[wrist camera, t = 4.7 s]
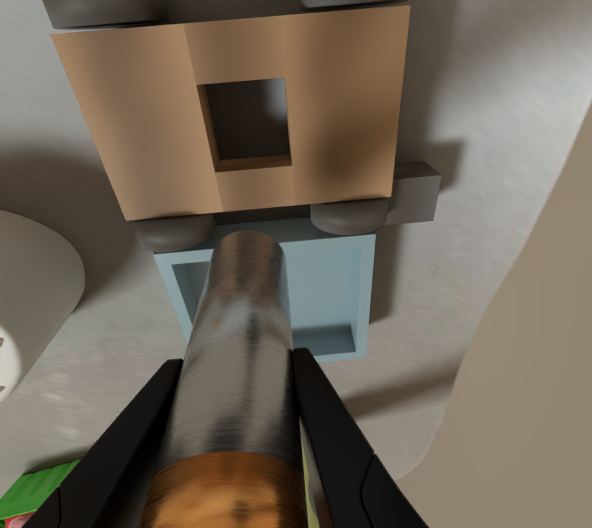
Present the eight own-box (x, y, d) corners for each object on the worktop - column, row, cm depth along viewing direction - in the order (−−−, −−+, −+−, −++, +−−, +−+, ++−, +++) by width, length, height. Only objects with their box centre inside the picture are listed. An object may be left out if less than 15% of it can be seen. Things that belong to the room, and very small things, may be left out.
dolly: (456, -39, 15) (515, -65, 11) (418, 204, 22) (448, 237, 18) (71, -8, 15) (6, -24, 11) (155, 228, 21) (131, 266, 18)
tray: (363, 211, 22) (375, 234, 19) (357, 329, 28) (365, 357, 25) (166, 229, 21) (153, 254, 19) (204, 344, 28) (198, 374, 25)
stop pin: (283, 227, 12) (313, 585, 4) (288, 289, 14) (317, 633, 6) (204, 233, 12) (75, 612, 4) (219, 295, 14) (148, 652, 6)
